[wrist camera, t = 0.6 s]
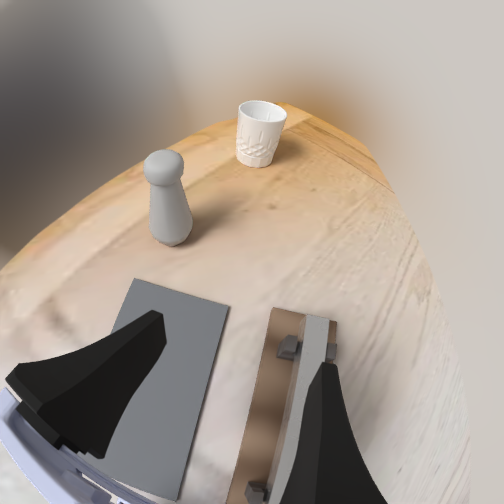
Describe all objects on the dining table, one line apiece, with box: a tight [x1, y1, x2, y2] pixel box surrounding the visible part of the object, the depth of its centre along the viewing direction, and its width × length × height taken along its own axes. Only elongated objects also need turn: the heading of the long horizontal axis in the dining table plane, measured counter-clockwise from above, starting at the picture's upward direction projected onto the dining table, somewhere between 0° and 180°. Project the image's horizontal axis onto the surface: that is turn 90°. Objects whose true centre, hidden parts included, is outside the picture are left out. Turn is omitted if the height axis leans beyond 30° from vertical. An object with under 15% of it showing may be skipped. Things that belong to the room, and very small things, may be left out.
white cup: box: [236, 101, 287, 168], centre depth 43 cm, size 8×8×10 cm
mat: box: [77, 278, 228, 502], centre depth 24 cm, size 24×12×1 cm, turn 168°
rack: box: [226, 307, 337, 504], centre depth 22 cm, size 26×8×5 cm, turn 168°
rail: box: [262, 314, 329, 504], centre depth 21 cm, size 22×2×2 cm, turn 168°
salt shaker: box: [143, 149, 193, 247], centre depth 30 cm, size 6×6×13 cm
